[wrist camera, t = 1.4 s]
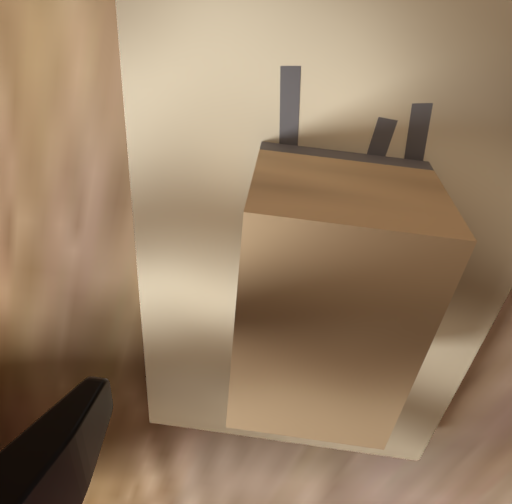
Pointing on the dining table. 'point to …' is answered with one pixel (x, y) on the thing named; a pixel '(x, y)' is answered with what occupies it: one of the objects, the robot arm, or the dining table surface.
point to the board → (308, 135)
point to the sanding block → (339, 291)
